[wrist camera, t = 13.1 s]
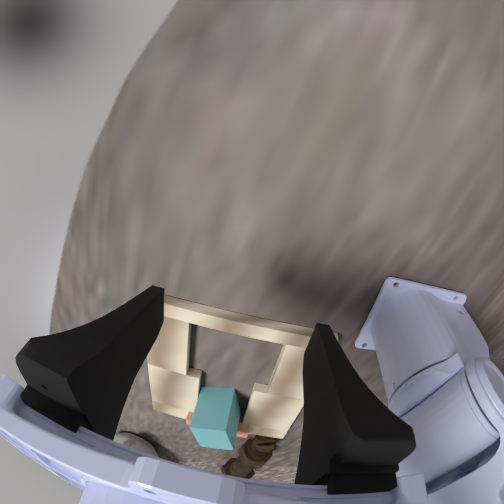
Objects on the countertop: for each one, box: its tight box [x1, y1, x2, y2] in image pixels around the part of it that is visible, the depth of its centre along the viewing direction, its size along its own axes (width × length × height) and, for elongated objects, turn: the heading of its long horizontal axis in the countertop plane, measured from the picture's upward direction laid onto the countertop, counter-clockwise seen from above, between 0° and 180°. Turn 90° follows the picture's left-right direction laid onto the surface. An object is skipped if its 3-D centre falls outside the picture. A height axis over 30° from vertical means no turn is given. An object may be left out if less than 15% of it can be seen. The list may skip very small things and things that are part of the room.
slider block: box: [189, 387, 241, 450], centre depth 30 cm, size 4×5×6 cm
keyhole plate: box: [147, 295, 339, 439], centre depth 30 cm, size 18×20×2 cm
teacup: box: [113, 432, 158, 457], centre depth 40 cm, size 14×11×8 cm
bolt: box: [221, 435, 275, 479], centre depth 37 cm, size 6×5×15 cm
